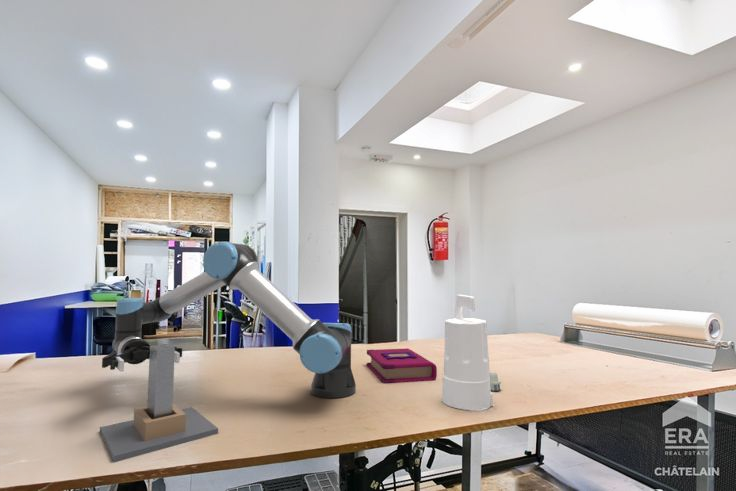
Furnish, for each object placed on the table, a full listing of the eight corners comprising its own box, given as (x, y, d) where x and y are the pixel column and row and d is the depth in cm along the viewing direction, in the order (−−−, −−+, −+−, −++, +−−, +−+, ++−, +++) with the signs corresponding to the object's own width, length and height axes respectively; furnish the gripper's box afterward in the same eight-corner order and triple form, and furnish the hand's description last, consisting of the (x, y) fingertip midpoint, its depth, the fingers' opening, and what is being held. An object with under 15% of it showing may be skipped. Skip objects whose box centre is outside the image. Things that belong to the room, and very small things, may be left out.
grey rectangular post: (163, 421, 100) (166, 343, 102) (171, 429, 95) (174, 348, 96) (146, 425, 98) (149, 345, 99) (153, 434, 92) (157, 350, 94)
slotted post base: (191, 411, 111) (192, 392, 111) (218, 433, 96) (218, 412, 97) (99, 432, 96) (100, 410, 97) (114, 462, 82) (115, 436, 82)
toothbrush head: (464, 363, 157) (502, 369, 133) (465, 380, 155) (504, 389, 132) (453, 364, 155) (489, 370, 132) (454, 381, 154) (491, 391, 130)
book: (411, 363, 172) (411, 346, 172) (436, 381, 145) (436, 361, 145) (365, 366, 167) (365, 348, 168) (383, 385, 140) (383, 363, 140)
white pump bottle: (503, 406, 117) (501, 296, 119) (463, 413, 111) (461, 297, 113) (469, 391, 131) (468, 293, 133) (432, 397, 125) (432, 294, 127)
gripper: (176, 356, 128) (198, 368, 113) (84, 369, 112) (95, 385, 96) (177, 333, 129) (199, 342, 113) (85, 343, 112) (96, 354, 97)
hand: (151, 362), depth 105 cm, fingers open, 13 cm apart
